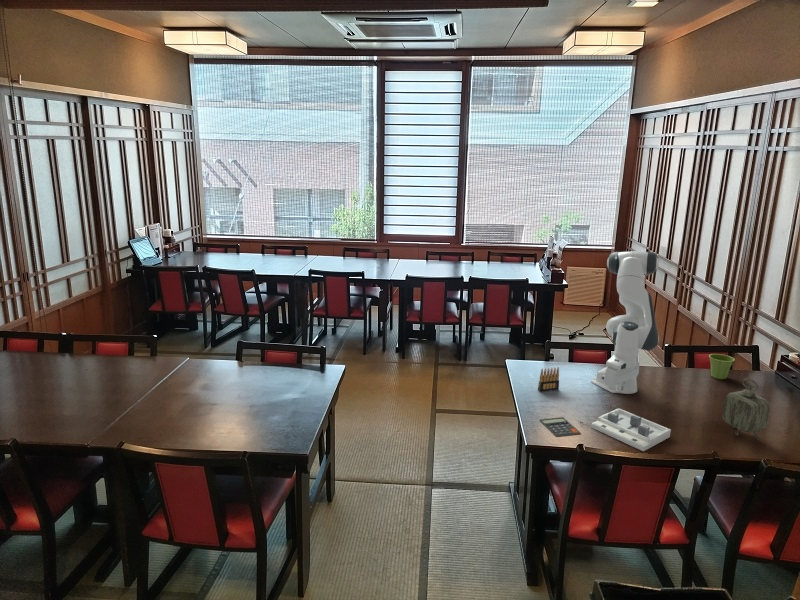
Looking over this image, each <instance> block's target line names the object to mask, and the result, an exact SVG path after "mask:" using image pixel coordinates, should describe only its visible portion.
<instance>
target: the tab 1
mask: <svg viewBox="0 0 800 600" xmlns="http://www.w3.org/2000/svg"><path fill="white" fill-rule="evenodd" d="M609 412H610V413H609ZM609 412H608V413H609V414H608V420H609V421H611V422H613V423H617V422H618V418H619V414H616V413H614V412H611V411H609Z"/></svg>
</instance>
